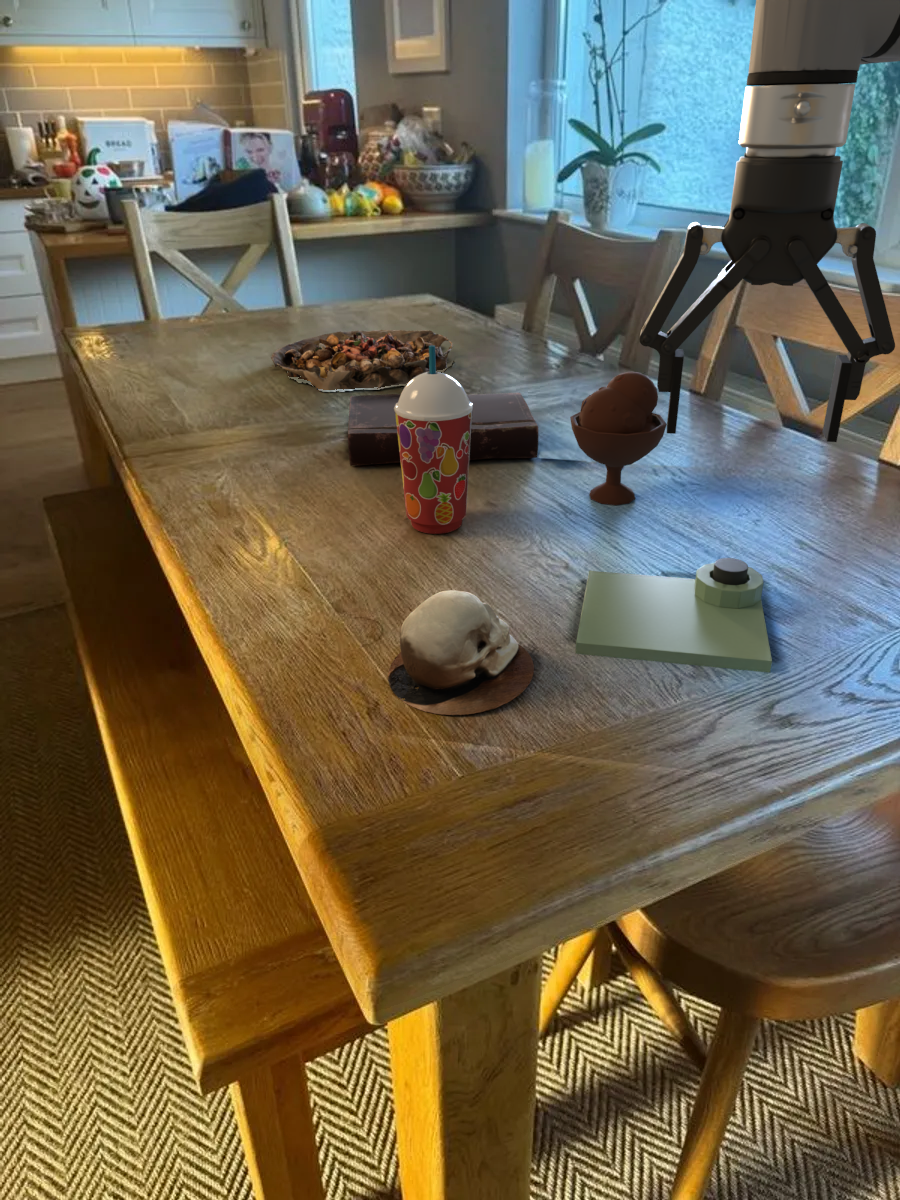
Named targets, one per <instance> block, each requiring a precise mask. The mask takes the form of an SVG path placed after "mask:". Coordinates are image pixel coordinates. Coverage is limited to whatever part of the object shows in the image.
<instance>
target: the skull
mask: <svg viewBox="0 0 900 1200" xmlns="http://www.w3.org/2000/svg"><path fill="white" fill-rule="evenodd" d="M510 628H511V627H510V626H509V624H508V623H507V622H506V621H505V620H503V619H502V618H500V617H499V615H498V614H497V613H496V612H495V610H494V609H493V607H492V606H491V605H490V604H488V603H487V602H482V600H481V599H480V598H479V597H478V596H477V595H476V594H474V593H473V592H469V591H462V590H455V589H449V590H442V591H440V592H436V593H435V594H433V595H431V596H429V597H428V598H426V600H424V601H422V602H421V603H420V604H419V605H417V607H416V608H415V609H414V610H413V611H411V612H410V613H409V615H408V616H407V617H406V618H405V619H404V621H403V623H402V625H401V626H400V633H399V648H400V652H399V653H398V654H397V655H396V656H395V658H394V659H393V660H392V662H391V664H390V666H389V669H388V673H387V680H388V684H389V687H390V689H391V691H392V693H393V694H394V695H395V696H396V697H397V698H398V699H399V700H400V701H402V702H403V703H404V704H406V705H408V706H410V707H413V708H414V709H416V710H420V711H423V712H426V713H431V714H435V715H436V714H437V715H443V716H444V715H446V716H447V715H448V716H462V715H463V716H465V715H472V714H477V713H483V712H486V711H490V710H495V709H497V708H499V707H501V706H504V705H506V704H508V703H509V702H511V701H513V700H514V699H516V698H517V697H519V696H520V695H521V694H523V692H524V691H525V690H526V689H527V688H528V686H529V685H530V683H531V682H532V679H533V676H534V673H535V665H534V661H533V658H532V656H531V655H530V653H529V652H528V650H527V649H526V648H525V647H524V646H522V645H521V644H519V643H518V642H517V640H516V638H515V637H514V636H513V635H511V634H510Z"/></svg>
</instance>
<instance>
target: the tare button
mask: <svg viewBox="0 0 900 1200" xmlns="http://www.w3.org/2000/svg"><path fill="white" fill-rule="evenodd" d="M713 563H714V570H713V580H715V581H716V582H719V583H722V584H725V585H741V584H745V583H746V579H747V572H748V567H749V566H748V565H749V564H747V562H745V561H743V560H742V559H739V558H735V557H722V558H718V559H716V560H715V561H714V562H713Z"/></svg>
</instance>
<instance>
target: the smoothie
mask: <svg viewBox="0 0 900 1200" xmlns="http://www.w3.org/2000/svg"><path fill="white" fill-rule="evenodd" d="M429 370H430V372H425V373H422V374H420V375H418V376H416V377H414V378H413V379H412V380H410V381H409V382H408V383H407V385H406V386H405V387H403V389H402V391H401V393H400V394H401V396H400V398H399V401H398V403H396V405H395V407H394V411H395V413H396V424H397V433H398V443H399V452H400V461H401V462H400V467H401V468H400V469H401V477H402V486H403V487H402V488H403V495H404V505H405V515H406V517H407V519H408V520H410V524H411V526H412V528H413V529H414V530H416V531H418V532H420V533H423V534H430V535H441V534H442V535H443V534H448V533H451V532H454V531H456V530H458V529H459V528H460V527H461V526H462V524H463V519H464V518H465V517H466V516H467V508H468V492H469V474H470V473H469V471H470V460H469V455H470V437H471V419H472V408H473V404H472V403H471V402H470V401H469V399H468V396H467V395H468V394H467V392H466V389H464V387H463V385H462V384H460V382H459V381H458V380H457V379H456V378H454V377H453V376H451V375H450V374H447V373H445V372H442V373H441V372H437V371H436V359H435V346H434V345H431V346H429Z"/></svg>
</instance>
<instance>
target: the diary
mask: <svg viewBox="0 0 900 1200" xmlns="http://www.w3.org/2000/svg"><path fill="white" fill-rule="evenodd" d="M400 396H401V393H400V394H399V393H391V394H388V393H387V394H370V395H369V394H368V395H350V397H349V409H348V422H347V424H348V425H347V446H348V459H349V466H350V467H354V466H355V467H357V466H370V465H382V464H384V465H385V464H398V463H401V461H400V452H399V443H398V433H397V424H396V413H395V411H394V407H395V405H396V403H398V401H399V398H400ZM467 396H468V399H469V401H470V402H471V403H472V404H473V408H472V419H471V437H470V455H469V461H474V460H485V459H486V460H487V459H536V458H537V459H538V455H539V453H538V452H539V424H537V422H536V420H535V418H534V416H533V414H532V412H531V409H530V407H529V405H528V404H527V401H526V400H525V398H524V396H523V395H522V393H521V392H497V393H495V392H494V393H473V394H472V393H471V394H467Z"/></svg>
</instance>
